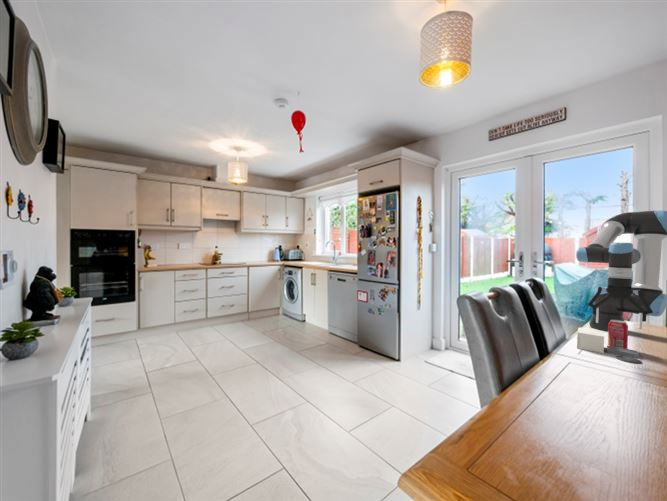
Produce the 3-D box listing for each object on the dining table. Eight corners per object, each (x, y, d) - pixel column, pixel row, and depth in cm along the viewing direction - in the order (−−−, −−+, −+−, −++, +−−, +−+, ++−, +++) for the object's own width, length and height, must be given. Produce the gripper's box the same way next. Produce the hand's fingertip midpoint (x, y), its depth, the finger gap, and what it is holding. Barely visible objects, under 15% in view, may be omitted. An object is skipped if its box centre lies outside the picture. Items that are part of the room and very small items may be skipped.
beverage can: (618, 346, 131) (619, 319, 130) (631, 351, 124) (632, 323, 124) (603, 345, 131) (604, 319, 131) (615, 350, 125) (616, 322, 125)
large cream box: (577, 348, 127) (577, 332, 126) (578, 342, 135) (578, 327, 135) (603, 353, 121) (604, 336, 121) (602, 346, 129) (603, 331, 129)
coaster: (615, 355, 119) (615, 354, 119) (640, 359, 114) (640, 358, 114) (616, 360, 114) (616, 359, 114) (642, 365, 109) (642, 364, 109)
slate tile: (606, 350, 126) (607, 345, 126) (636, 355, 120) (636, 350, 120) (607, 353, 122) (607, 348, 122) (638, 359, 116) (638, 354, 116)
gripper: (582, 275, 133) (580, 321, 133) (663, 280, 116) (661, 333, 116) (582, 274, 138) (580, 318, 139) (660, 279, 122) (658, 329, 122)
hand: (617, 325), depth 127 cm, fingers open, 13 cm apart
